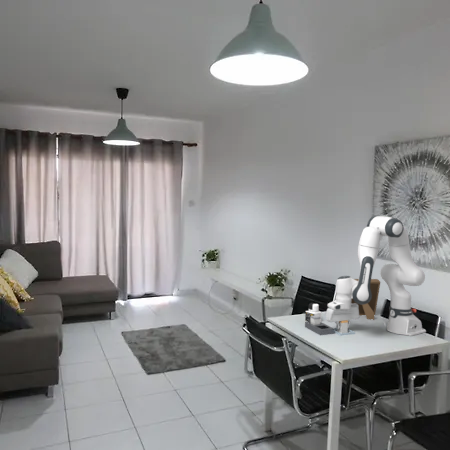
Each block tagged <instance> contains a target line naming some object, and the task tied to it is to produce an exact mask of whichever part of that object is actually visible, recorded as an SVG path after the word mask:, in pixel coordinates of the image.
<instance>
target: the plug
mask: <svg viewBox="0 0 450 450" xmlns="http://www.w3.org/2000/svg"><path fill="white" fill-rule="evenodd" d="M338 324H339V325H340V326H341V328H340V329H337V330H336V331H337V332H339V333H349V331H348V329H349V327H348V320H346V321H339V323H338Z"/></svg>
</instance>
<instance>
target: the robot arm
mask: <svg viewBox="0 0 450 450" xmlns="http://www.w3.org/2000/svg"><path fill="white" fill-rule="evenodd" d="M383 237H387V239H388V250H389V257H390V258H391V259H392V260H393V261H394V262H396V263H395V264H394V263H385V264H384V265H383V266H382V267H381V269H380V271H379V272H380V273H379V274H380V277H381V279H382V280H383V281H385V284H386V285H387V288H388V289H389V293H390V306H389V315H388V322H387V327H386V331H388V332H390V333H392V334H397V335H405V336H410V337H411V336H416V335H420V334H424V333H426V332H427V330H426V329H425V328H423V325H422V324H423V323H422V321H421V320H420V319H419V318H418V317H417V316H416V315H414V313H417V309H416V308H412V295H411V293H410V292H409V291H408V290H407V289H405V287H404V286H410V287H417V286H418V287H419V286H422V284H423V283H424V282H425V279H426V275H425V271H424V270H423V269H422V268H420V267H419V266H418V265H417V264H416V262H415V261H414V259H413V257H412V254H411V245H410V237H409V233H408V230H407V228H406V226H405V225H403V222H402V221H401V220H400V219H398V218H395V217H391V216H387V215H385V216H383V215H373V216H371V217H370V218H369V220H368V221H367V225H366V227H364V228H363V230H362V232H361V235H360V236H359V241H358V245H357V258H358V261H359V269H360V270H359V276H358V279H359V281H356V280H354V279H355V278H352V277H351V276H350V275H342V276H339V277H338V278H337V279H336V283H335V293H336V294H335V300H333V301H330V302H329V303H328V302H327V309H326V314H325V318H326V321H327V322H329V323H333V322H334V323H335V326H336V328H337V329H340V328H341V326H340V325H339V324H338V323H339V321H346V320H348V328H349V326H350V324H351V321H354V320H359V318H360V315H359V310H358V307H359V306H358V304H361V305H364V304H367V303H368V302H370V300H371V298H372V293H371V289H370V283H371V279H372V278H373V277H372V276H373V270H374V266H375V263H376V259H377V257H378V254H379V248H380V246H381V245H380V244H381V239H382V238H383ZM352 298H353V300H354V301H355V302H356V303H358V304H356V303H351V299H352Z"/></svg>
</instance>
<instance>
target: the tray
mask: <svg viewBox="0 0 450 450" xmlns="http://www.w3.org/2000/svg"><path fill="white" fill-rule="evenodd" d="M333 328H334V334H336V335H338V336H340V337H341V336H350V335H356V332H355V331H353V330H351V329H349V328H348V333H340V332H338V331H337V327H333Z"/></svg>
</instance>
